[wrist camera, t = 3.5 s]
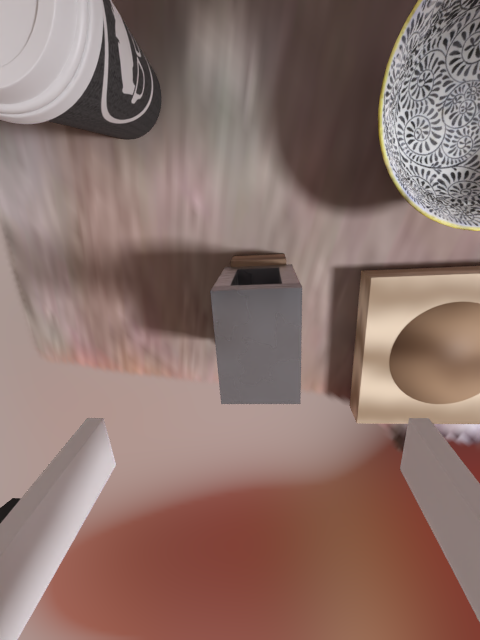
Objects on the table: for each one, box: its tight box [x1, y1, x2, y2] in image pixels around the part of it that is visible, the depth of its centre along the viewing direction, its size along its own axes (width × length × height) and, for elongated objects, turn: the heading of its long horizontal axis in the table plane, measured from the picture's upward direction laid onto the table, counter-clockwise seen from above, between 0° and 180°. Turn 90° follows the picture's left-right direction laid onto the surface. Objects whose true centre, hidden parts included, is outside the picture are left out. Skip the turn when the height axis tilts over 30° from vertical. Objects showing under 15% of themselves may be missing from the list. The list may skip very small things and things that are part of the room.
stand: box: [230, 254, 286, 267], centre depth 30 cm, size 10×5×3 cm, turn 3°
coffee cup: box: [0, 0, 161, 139], centre depth 19 cm, size 10×10×15 cm
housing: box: [210, 264, 302, 404], centre depth 25 cm, size 9×6×8 cm, turn 3°
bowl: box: [378, 0, 480, 231], centre depth 21 cm, size 16×16×8 cm
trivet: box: [350, 266, 480, 424], centre depth 30 cm, size 16×16×3 cm
